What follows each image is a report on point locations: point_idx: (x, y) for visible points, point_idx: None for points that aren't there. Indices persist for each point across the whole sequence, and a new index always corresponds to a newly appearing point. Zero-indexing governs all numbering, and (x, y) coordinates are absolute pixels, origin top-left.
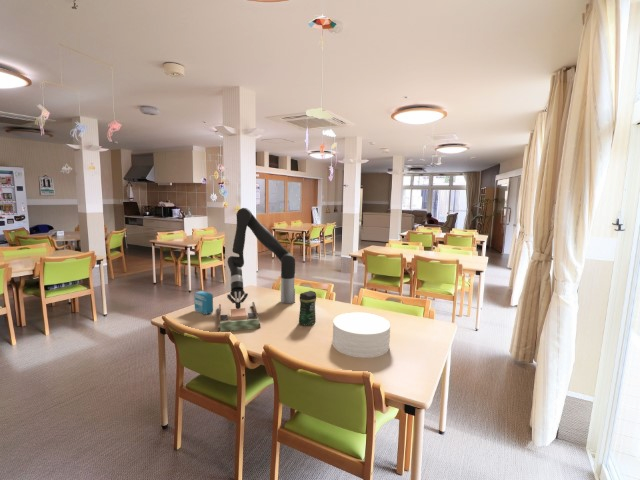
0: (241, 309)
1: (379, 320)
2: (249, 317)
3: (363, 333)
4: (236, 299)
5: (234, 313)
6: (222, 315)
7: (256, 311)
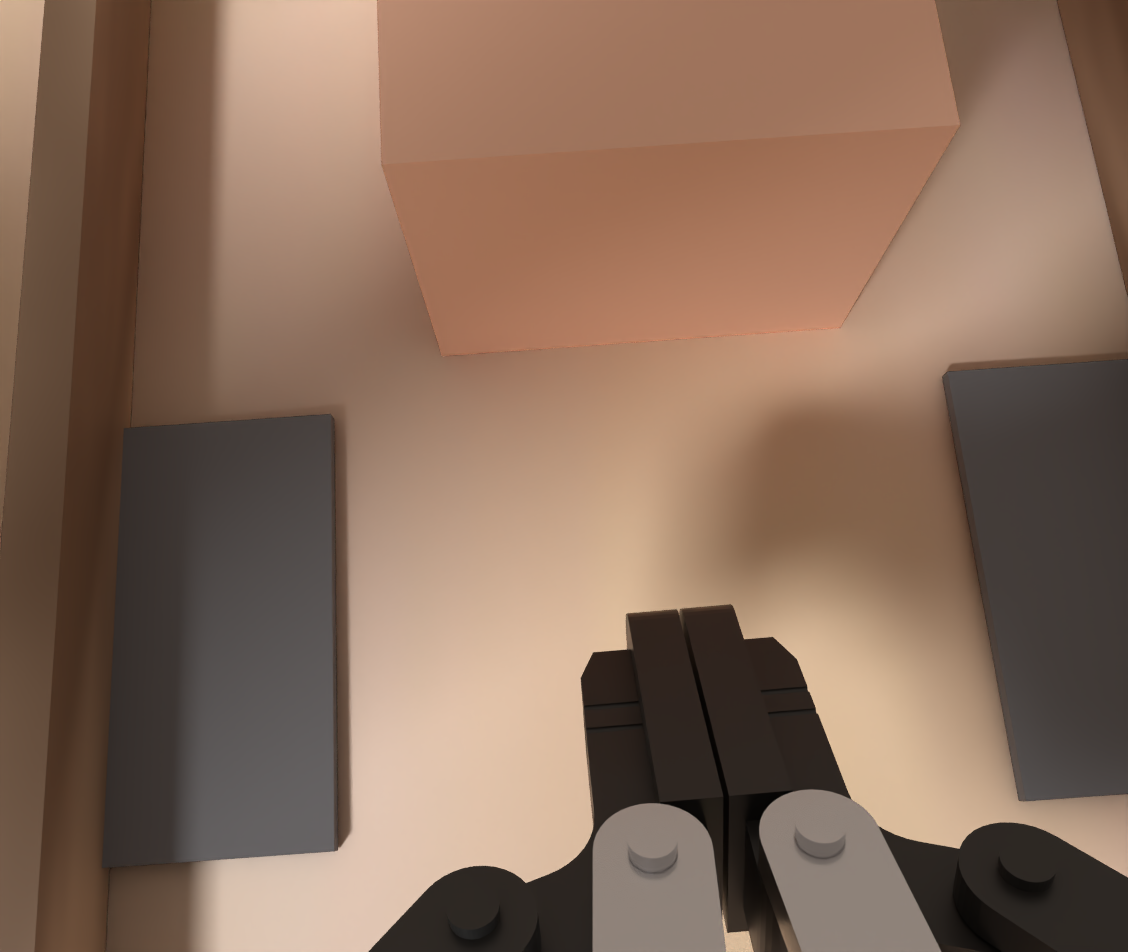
0: (530, 31)
1: None
2: (308, 429)
3: None
4: (854, 934)
5: None
6: None
7: (7, 589)
